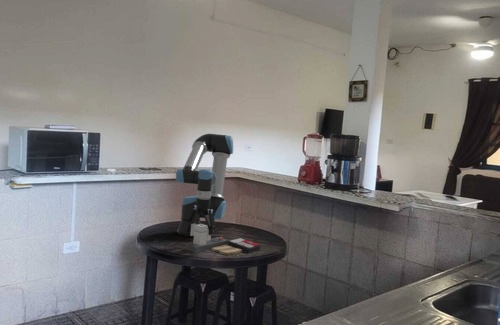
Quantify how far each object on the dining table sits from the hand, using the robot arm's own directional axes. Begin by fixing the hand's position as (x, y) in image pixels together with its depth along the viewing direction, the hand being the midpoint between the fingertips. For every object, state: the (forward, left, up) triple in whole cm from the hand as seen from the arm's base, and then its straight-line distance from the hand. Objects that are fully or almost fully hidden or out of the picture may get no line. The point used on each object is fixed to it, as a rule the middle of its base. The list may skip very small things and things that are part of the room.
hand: (200, 237), depth 223 cm
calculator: (+13, +22, -7) cm, 27 cm away
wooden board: (+11, +10, -6) cm, 16 cm away
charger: (0, 0, -5) cm, 5 cm away
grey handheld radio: (0, +9, -6) cm, 11 cm away
